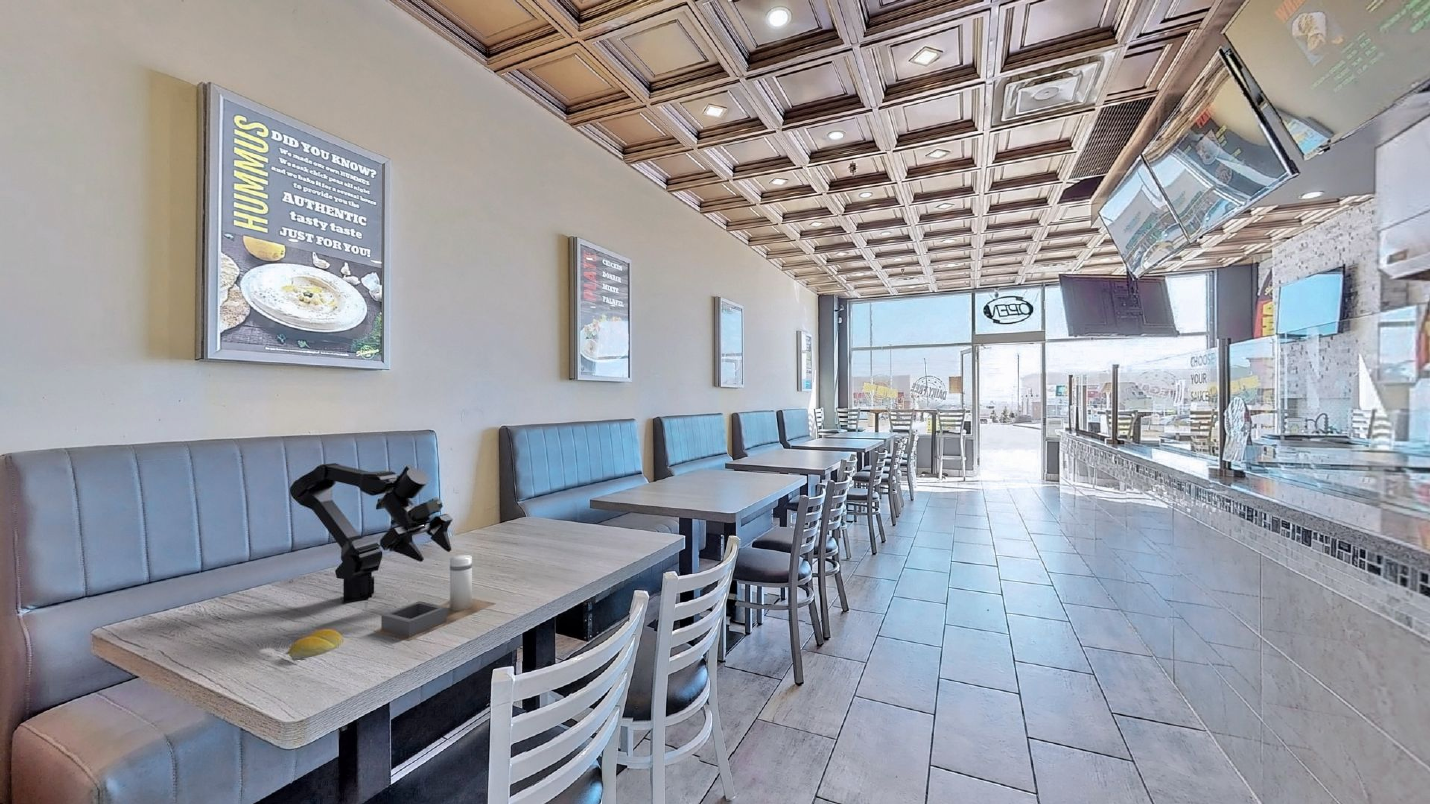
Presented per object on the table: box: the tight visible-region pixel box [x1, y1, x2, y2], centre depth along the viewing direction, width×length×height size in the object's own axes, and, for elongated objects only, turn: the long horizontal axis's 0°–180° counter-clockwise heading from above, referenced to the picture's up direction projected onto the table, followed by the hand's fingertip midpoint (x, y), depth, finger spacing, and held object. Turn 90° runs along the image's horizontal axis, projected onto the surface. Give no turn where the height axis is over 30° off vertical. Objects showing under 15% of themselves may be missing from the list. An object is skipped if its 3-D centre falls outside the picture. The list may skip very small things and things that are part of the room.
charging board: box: [373, 597, 497, 642], centre depth 129 cm, size 24×12×1 cm, turn 156°
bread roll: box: [288, 628, 344, 661], centre depth 112 cm, size 8×9×4 cm
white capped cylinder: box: [449, 554, 473, 611], centre depth 135 cm, size 5×5×12 cm
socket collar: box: [380, 600, 447, 638], centre depth 123 cm, size 9×9×4 cm
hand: (436, 555), depth 137 cm, fingers open, 9 cm apart
